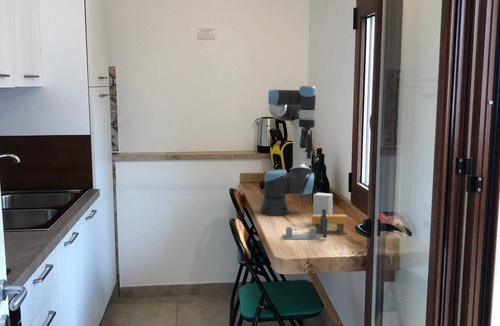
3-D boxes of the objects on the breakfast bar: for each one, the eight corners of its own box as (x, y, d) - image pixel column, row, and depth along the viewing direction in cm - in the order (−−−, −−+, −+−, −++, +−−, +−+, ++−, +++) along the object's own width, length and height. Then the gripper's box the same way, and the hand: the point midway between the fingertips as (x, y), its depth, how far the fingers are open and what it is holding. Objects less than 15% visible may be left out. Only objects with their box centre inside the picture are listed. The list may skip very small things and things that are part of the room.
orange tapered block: (311, 221, 245) (311, 214, 245) (344, 221, 246) (344, 214, 246) (313, 223, 241) (313, 216, 241) (346, 223, 242) (347, 216, 242)
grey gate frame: (319, 233, 238) (320, 207, 237) (323, 233, 238) (324, 207, 237) (323, 237, 232) (324, 211, 230) (326, 237, 232) (327, 211, 230)
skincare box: (332, 224, 259) (333, 193, 257) (327, 227, 253) (329, 196, 251) (317, 221, 263) (318, 191, 261) (312, 224, 257) (313, 194, 255)
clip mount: (282, 235, 237) (282, 226, 236) (316, 235, 238) (317, 225, 237) (284, 239, 230) (284, 229, 230) (319, 239, 232) (320, 229, 231)
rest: (310, 230, 247) (311, 221, 246) (343, 230, 248) (344, 221, 247) (313, 233, 241) (313, 224, 240) (346, 233, 242) (347, 224, 241)
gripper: (294, 117, 255) (293, 159, 258) (303, 120, 230) (302, 167, 233) (309, 117, 256) (308, 160, 259) (320, 120, 231) (318, 167, 234)
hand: (305, 163), depth 246 cm, fingers open, 13 cm apart
